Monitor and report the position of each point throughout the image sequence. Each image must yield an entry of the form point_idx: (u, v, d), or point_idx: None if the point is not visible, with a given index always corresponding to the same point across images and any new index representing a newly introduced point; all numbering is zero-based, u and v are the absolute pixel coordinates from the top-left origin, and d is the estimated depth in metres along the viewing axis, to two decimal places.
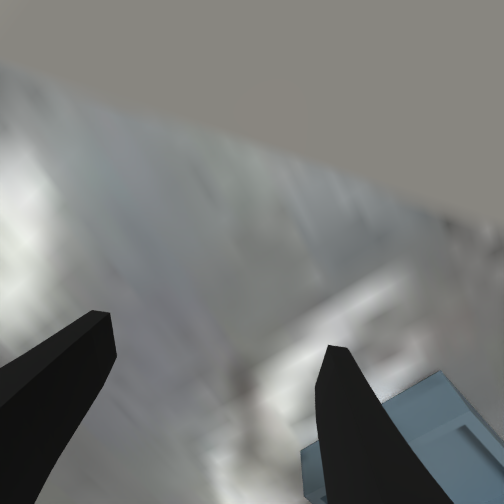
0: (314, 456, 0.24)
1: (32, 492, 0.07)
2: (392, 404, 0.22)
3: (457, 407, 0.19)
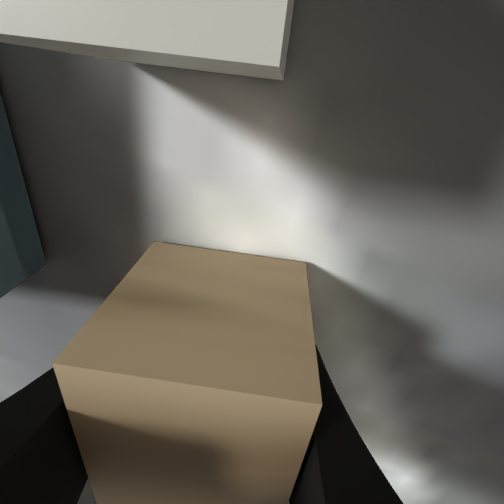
0: None
1: (72, 499, 0.07)
2: None
3: None
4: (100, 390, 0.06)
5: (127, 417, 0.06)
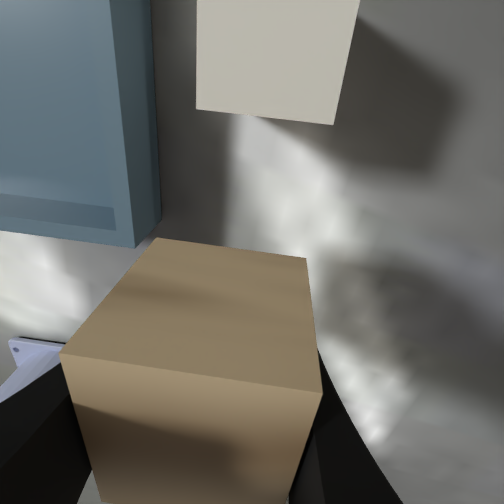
0: None
1: (73, 499, 0.07)
2: None
3: None
4: (105, 380, 0.06)
5: (131, 407, 0.06)
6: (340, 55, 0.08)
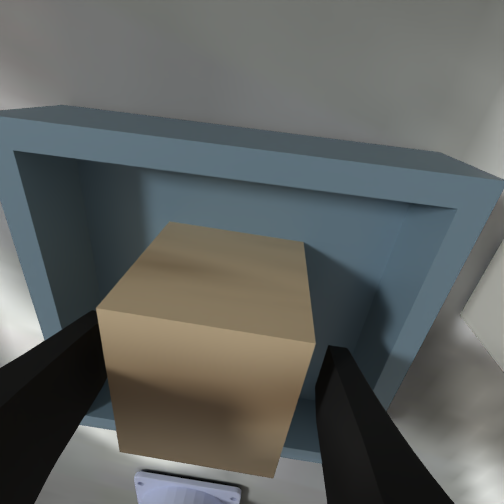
0: None
1: (32, 492, 0.07)
2: None
3: None
4: (134, 332, 0.07)
5: (154, 357, 0.07)
6: None
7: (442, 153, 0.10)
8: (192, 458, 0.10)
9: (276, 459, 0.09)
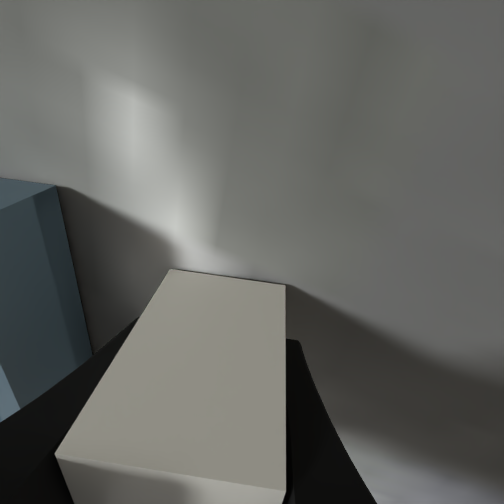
0: None
1: None
2: None
3: None
4: None
5: None
6: None
7: (52, 186, 0.09)
8: None
9: None
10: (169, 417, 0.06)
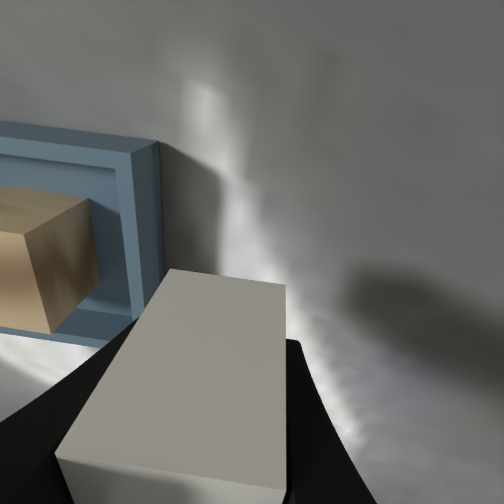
0: None
1: None
2: None
3: None
4: None
5: None
6: None
7: (157, 141, 0.17)
8: (1, 321, 0.16)
9: (45, 318, 0.16)
10: (169, 416, 0.06)
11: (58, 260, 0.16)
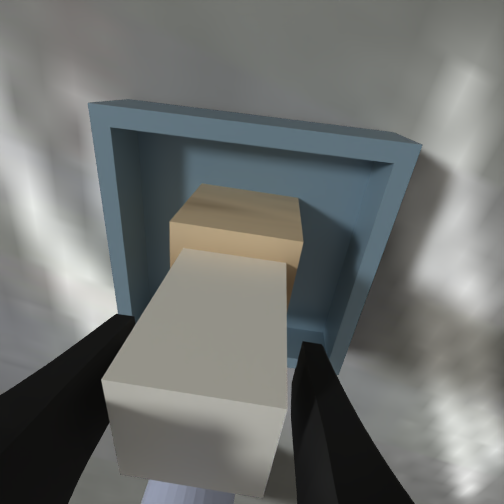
0: None
1: (64, 497, 0.07)
2: None
3: None
4: (191, 238, 0.11)
5: None
6: (264, 465, 0.07)
7: None
8: None
9: None
10: (191, 357, 0.07)
11: None
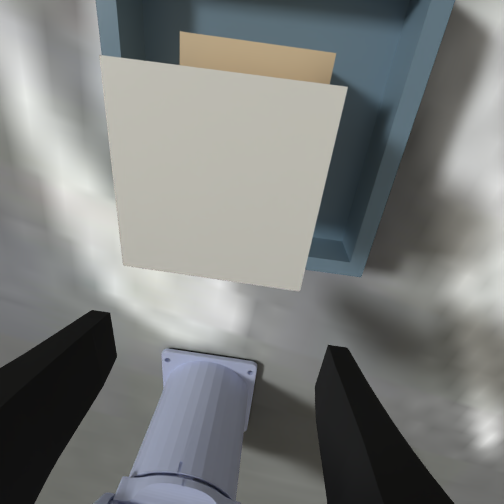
0: None
1: (32, 492, 0.07)
2: None
3: None
4: (205, 56, 0.10)
5: None
6: (306, 221, 0.06)
7: None
8: None
9: None
10: None
11: None
